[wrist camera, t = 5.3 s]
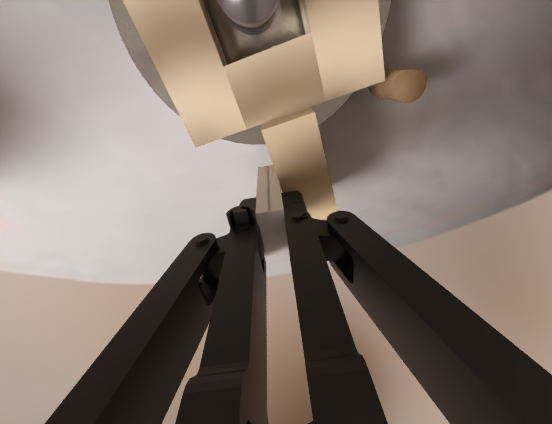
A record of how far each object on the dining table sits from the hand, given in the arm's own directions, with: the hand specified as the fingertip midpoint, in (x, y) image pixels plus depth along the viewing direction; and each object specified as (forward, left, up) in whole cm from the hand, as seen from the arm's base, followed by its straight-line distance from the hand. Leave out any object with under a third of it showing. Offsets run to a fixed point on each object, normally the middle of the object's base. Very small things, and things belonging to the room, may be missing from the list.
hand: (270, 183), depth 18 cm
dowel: (-8, +6, -2) cm, 10 cm away
